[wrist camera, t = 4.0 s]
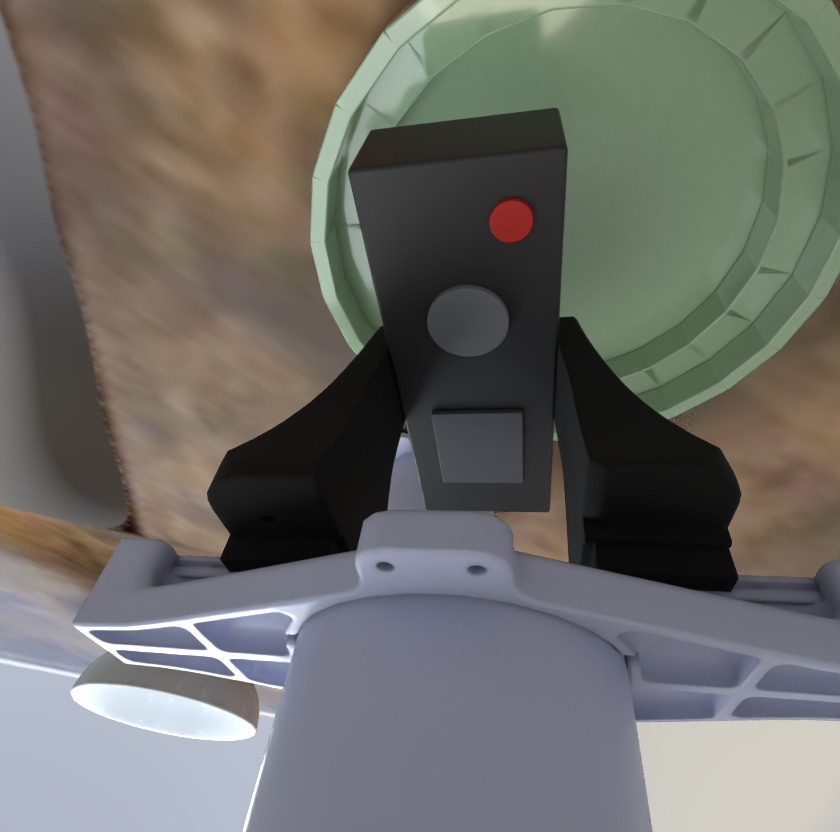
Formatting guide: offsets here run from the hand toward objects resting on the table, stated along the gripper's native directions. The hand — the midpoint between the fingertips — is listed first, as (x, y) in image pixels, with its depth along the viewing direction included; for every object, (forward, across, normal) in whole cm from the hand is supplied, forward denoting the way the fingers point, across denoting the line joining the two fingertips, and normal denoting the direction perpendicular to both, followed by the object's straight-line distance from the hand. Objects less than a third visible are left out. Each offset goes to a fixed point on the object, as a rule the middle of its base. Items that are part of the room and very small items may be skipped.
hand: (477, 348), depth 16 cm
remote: (+1, 0, 0) cm, 1 cm away
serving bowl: (+9, +39, +52) cm, 66 cm away
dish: (+8, -3, 0) cm, 9 cm away
